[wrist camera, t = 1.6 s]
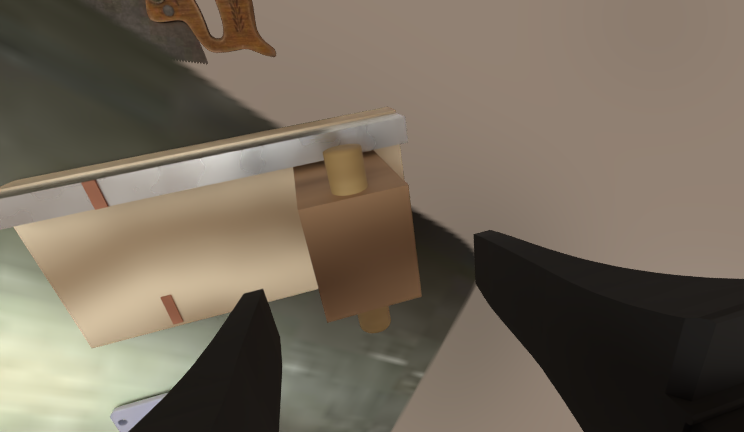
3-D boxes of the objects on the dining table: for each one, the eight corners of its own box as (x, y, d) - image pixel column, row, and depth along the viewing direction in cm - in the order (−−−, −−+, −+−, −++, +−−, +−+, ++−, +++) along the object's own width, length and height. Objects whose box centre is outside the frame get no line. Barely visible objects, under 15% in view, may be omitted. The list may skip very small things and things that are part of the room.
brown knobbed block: (388, 256, 21) (424, 324, 16) (320, 274, 21) (334, 350, 15) (366, 118, 18) (403, 143, 12) (285, 134, 17) (286, 169, 12)
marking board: (406, 251, 23) (424, 277, 20) (104, 329, 21) (76, 371, 18) (387, 106, 19) (405, 114, 17) (13, 180, 17) (-39, 204, 14)
